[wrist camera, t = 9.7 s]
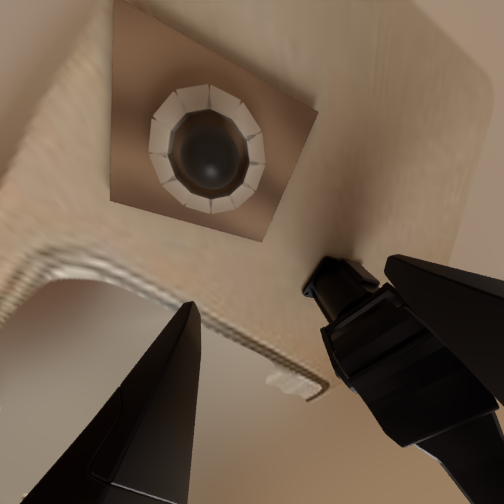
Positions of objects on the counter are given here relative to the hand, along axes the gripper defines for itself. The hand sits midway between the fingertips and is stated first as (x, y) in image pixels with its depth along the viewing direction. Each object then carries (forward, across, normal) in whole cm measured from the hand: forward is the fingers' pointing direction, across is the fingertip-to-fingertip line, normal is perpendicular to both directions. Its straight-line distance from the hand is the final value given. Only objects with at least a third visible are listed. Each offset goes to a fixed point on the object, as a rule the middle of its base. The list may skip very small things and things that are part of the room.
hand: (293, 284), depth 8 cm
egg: (+11, +3, -5) cm, 13 cm away
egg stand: (+12, +3, -5) cm, 13 cm away
